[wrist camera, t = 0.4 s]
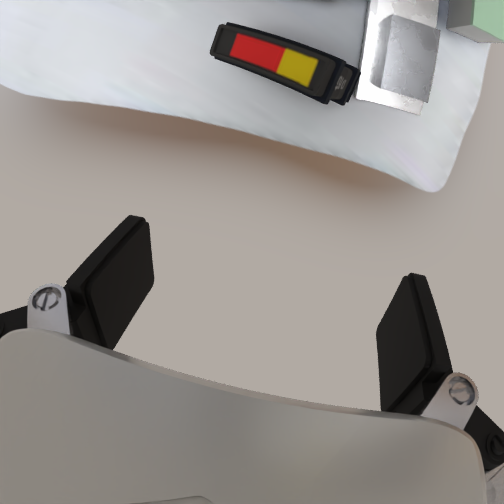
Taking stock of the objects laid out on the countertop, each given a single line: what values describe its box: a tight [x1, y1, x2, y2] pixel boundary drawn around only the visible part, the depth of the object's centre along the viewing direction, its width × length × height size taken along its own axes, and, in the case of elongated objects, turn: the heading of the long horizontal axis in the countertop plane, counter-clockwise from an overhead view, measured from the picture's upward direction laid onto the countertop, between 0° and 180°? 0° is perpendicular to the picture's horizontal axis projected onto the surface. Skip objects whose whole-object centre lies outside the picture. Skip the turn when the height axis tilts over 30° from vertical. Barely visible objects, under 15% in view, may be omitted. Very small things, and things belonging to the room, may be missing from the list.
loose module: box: [446, 0, 504, 43], centre depth 19 cm, size 6×4×8 cm
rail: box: [354, 0, 440, 115], centre depth 21 cm, size 26×8×7 cm, turn 174°
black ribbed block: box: [210, 22, 361, 105], centre depth 26 cm, size 4×13×15 cm, turn 71°
